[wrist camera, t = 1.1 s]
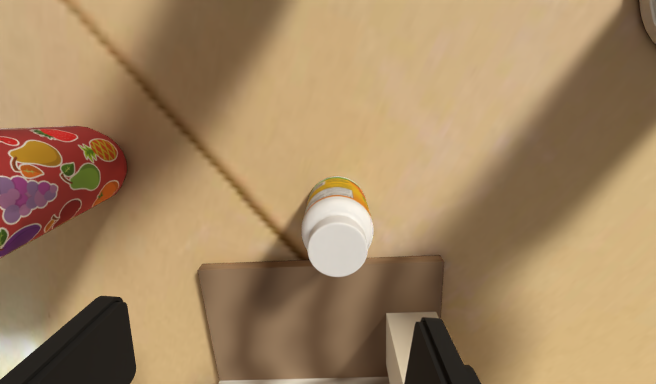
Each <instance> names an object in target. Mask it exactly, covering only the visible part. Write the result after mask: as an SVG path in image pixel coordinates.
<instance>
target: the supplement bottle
mask: <svg viewBox="0 0 656 384" xmlns="http://www.w3.org/2000/svg"><path fill="white" fill-rule="evenodd" d="M302 239H303V242H304V245H305V247H306V249H307V252H308V257H309V260H310V262H311V263H312V265H313V266H314V267H315V268H316V269H317V270H318V271H319V272H321V273H323V274H325V275H328V276H332V277H344V276H348V275H350V274H352V273H354V272H356V271H357V270H358V269H359V268H360V267H361V266H362V265H363V264H364V262H365V260H366V257H367V253H368V249H369V247H370V245H371V242H372V239H373V223H372V219H371V216H370V212H369V209H368V205H367V202H366V199H365V196H364V193H363V191H362V190H361V188H360V187H359V186H358V185H357V184H356V183H355V182H354V181H352V180H350V179H348V178H345V177H340V176H333V177H329V178H326V179H324V180H322V181H320V182H319V183H318V184H316V185H315V187H314V188H313V189H312V191H311V193H310V195H309V198H308V202H307V206H306V210H305V214H304V218H303V222H302Z"/></svg>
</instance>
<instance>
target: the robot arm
mask: <svg viewBox="0 0 656 384" xmlns="http://www.w3.org/2000/svg"><path fill="white" fill-rule="evenodd" d="M639 2H640V11H641V17H642V20H643V23H644V26H645V29H646V31H647V33H648V34H649V36H650V38H651V39H652V41H653V42H654V43H655V44H656V0H639ZM135 372H136V363H135V356H134V349H133V342H132V335H131V328H130V321H129V315H128V308H127V304H126V303H125V302H123V300H122V299H121V298H120V297H111V296H99V297H98V298H96V299H95V300H94V301H92V302H91V303H90V304H89V305H88V306H87V307H85V308H84V309H83V310H82V311H81V312H80V313H78V314H77V315H76V316H75V317H74V318H72V319H71V320H70V321H69V322H68V323H67V324H65V325H64V326H63V327H62V328H61V329H60V330H58V331H57V332H56V333H55V334H54V335H52V336H51V337H50V338H49V339H48V340H47V341H45V342H44V343H43V344H42V345H41V346H39V347H38V348H37V349H36V350H35V351H34V352H32V353H31V354H30V355H29V356H28V357H27V358H25V359H24V360H23V361H22V362H21V363H19V364H18V365H17V366H16V367H15V368H14V369H12V370H11V371H10V372H9V373H8V374H6V375H5V376H4V377H3V378H2V379H1V380H0V384H130V383H131V381H132V380H133V378H134V376H135ZM404 384H481V383H480V381H479V379H478V377H477V375H476V373H475V371H474V370H473V368H472V367H471V366H469V365H464V364H463V362H462V360H461V358H460V356H459V354H458V352H457V350H456V348H455V346H454V344H453V342H452V340H451V338H450V336H449V334H448V331H447V329H446V327H445V325H444V323H443V321H442V320H441V319H440V318H428V317H422V318H421V321H420V322H416V323H415V326H414V332H413V338H412V343H411V349H410V354H409V360H408V366H407V371H406V377H405V382H404Z"/></svg>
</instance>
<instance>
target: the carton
mask: <svg viewBox="0 0 656 384" xmlns="http://www.w3.org/2000/svg"><path fill="white" fill-rule="evenodd" d="M422 317H428V318H439V317H438V315H437V313H436V312H409V313H386V367H387V372H388V377H389V382H390V384H404V382H405V377H406V371H407V366H408V360H409V354H410V349H411V343H412V338H413V332H414V326H415V323H416V322H420V321H421V318H422Z"/></svg>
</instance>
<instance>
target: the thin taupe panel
mask: <svg viewBox="0 0 656 384" xmlns="http://www.w3.org/2000/svg"><path fill="white" fill-rule="evenodd" d="M443 271H444V261H443V259H442V258H441V256H440V255H434V256H407V257H380V258H366V260H365V262H364V264H363V265H362V266H361V267H360V268H359V269H358V270H357V271H356V272H354V273H352V274H350V275H348V276H344V277H332V276H328V275H325V274H323V273H321V272H319V271H318V270H317V269H316V268H315V267H314V266H313V265H312V263H311V262H310V260H299V261H272V262H244V263H217V264H202V265H201V267H200V268H199V269H198V275H199V280H200V285H201V290H202V295H203V300H204V305H205V310H206V315H207V320H208V325H209V330H210V335H211V340H212V345H213V350H214V355H215V360H216V365H217V370H218V375H219V380H220V381H219V384H390V382H389V377H388V372H387V367H386V313H409V312H436V313H437V315H438V317H439V318H441V302H442V286H443Z"/></svg>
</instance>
